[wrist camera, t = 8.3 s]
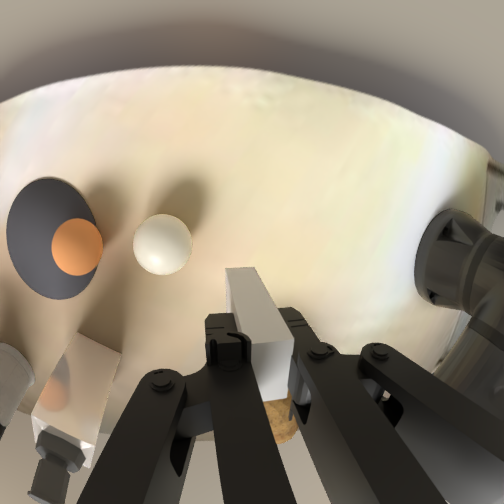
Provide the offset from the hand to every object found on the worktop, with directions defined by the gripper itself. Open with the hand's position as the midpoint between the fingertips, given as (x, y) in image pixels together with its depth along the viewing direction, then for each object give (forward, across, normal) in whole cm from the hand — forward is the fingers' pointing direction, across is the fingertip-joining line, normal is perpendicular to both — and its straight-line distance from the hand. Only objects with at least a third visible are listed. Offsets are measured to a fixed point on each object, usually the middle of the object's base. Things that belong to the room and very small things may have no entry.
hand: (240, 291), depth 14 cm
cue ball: (+11, +6, 0) cm, 12 cm away
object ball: (+11, +14, 0) cm, 18 cm away
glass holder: (+14, +38, +20) cm, 45 cm away
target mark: (+14, +20, 0) cm, 24 cm away
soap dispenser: (+14, +18, +17) cm, 28 cm away
